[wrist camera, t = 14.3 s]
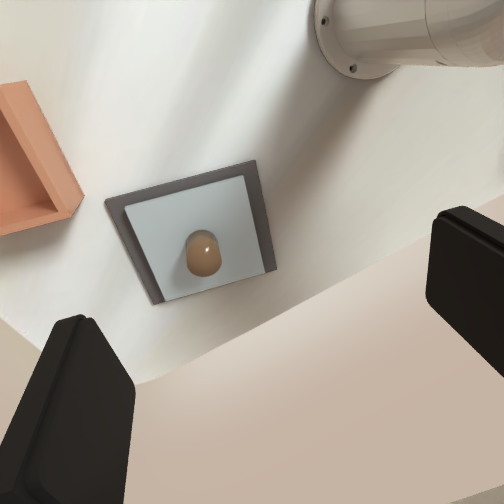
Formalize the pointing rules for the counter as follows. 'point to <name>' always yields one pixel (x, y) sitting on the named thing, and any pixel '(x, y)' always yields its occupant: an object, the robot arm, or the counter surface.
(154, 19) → the counter surface
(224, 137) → the counter surface
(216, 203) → the lid
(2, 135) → the open storage tray
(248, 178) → the mat
